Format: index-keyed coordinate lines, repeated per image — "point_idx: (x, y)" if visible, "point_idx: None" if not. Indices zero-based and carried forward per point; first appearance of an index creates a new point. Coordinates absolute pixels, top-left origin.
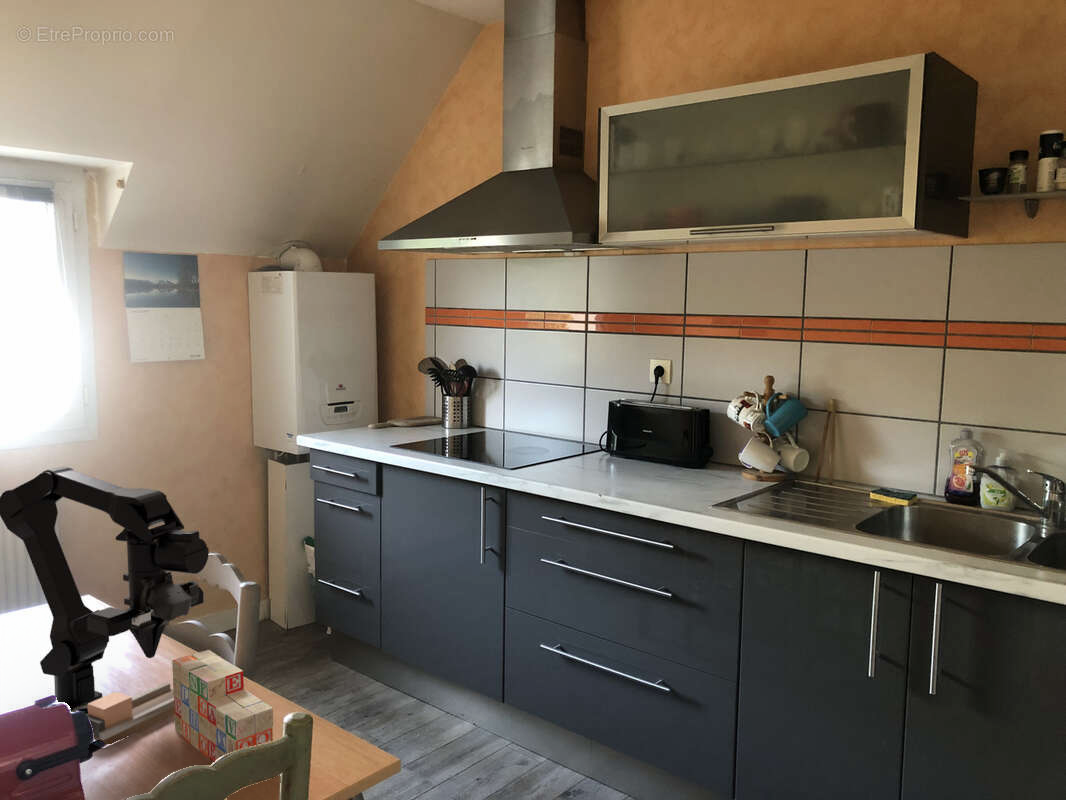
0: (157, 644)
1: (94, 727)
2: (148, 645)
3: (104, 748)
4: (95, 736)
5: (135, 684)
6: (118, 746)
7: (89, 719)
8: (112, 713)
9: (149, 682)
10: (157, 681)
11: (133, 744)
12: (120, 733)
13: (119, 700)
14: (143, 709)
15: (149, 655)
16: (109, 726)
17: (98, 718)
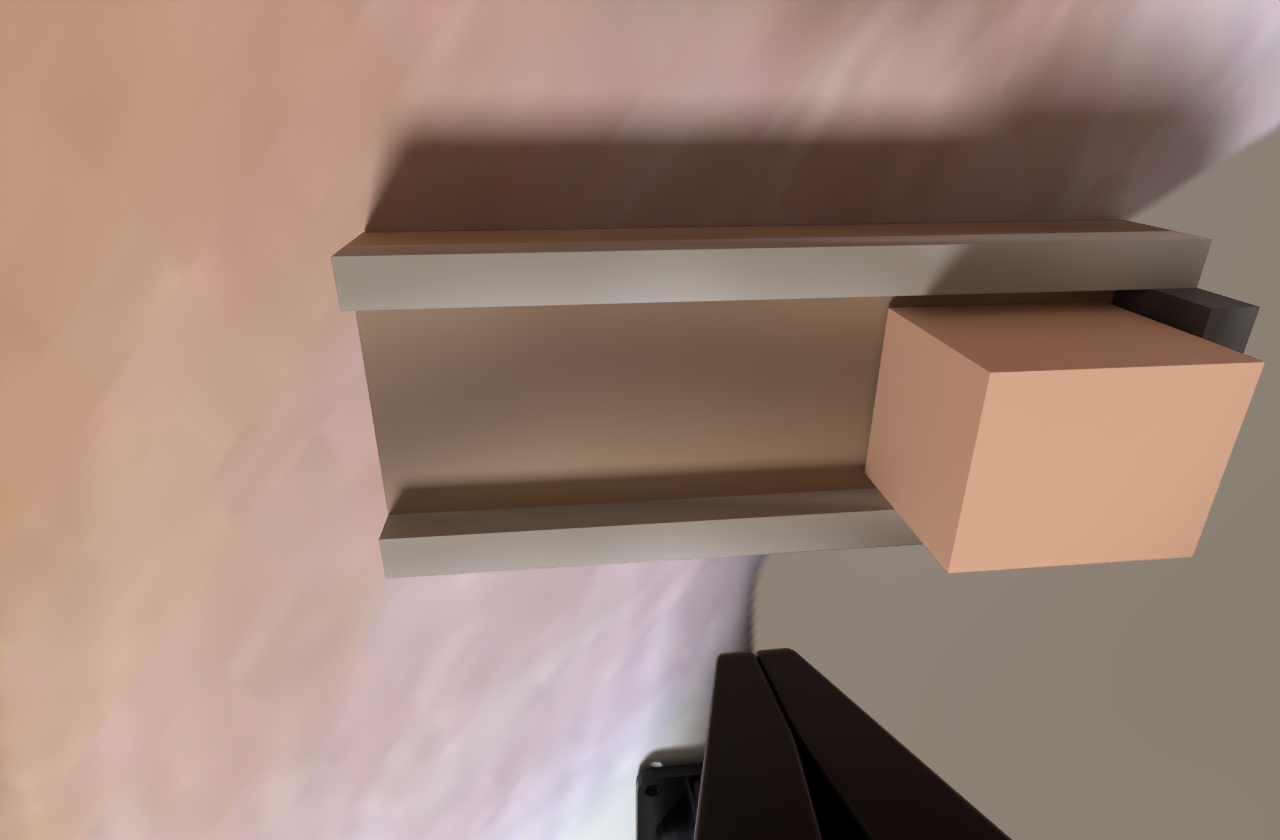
0: (727, 800)
1: None
2: (982, 824)
3: None
4: None
5: (431, 773)
6: (1067, 169)
7: None
8: (1129, 343)
9: (361, 742)
10: (319, 721)
11: (1016, 97)
12: (1037, 232)
13: (1078, 404)
14: (719, 397)
15: (818, 682)
16: (1094, 311)
17: None
